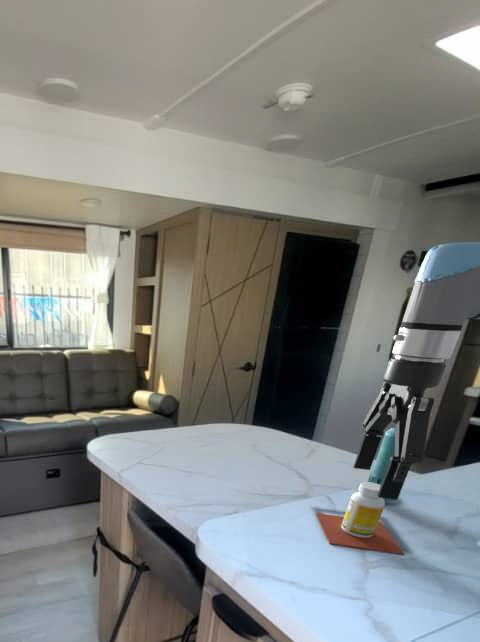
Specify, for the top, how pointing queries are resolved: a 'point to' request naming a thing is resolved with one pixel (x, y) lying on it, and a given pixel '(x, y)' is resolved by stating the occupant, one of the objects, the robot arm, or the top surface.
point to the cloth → (339, 537)
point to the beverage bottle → (384, 459)
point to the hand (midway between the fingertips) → (373, 482)
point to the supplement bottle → (363, 511)
